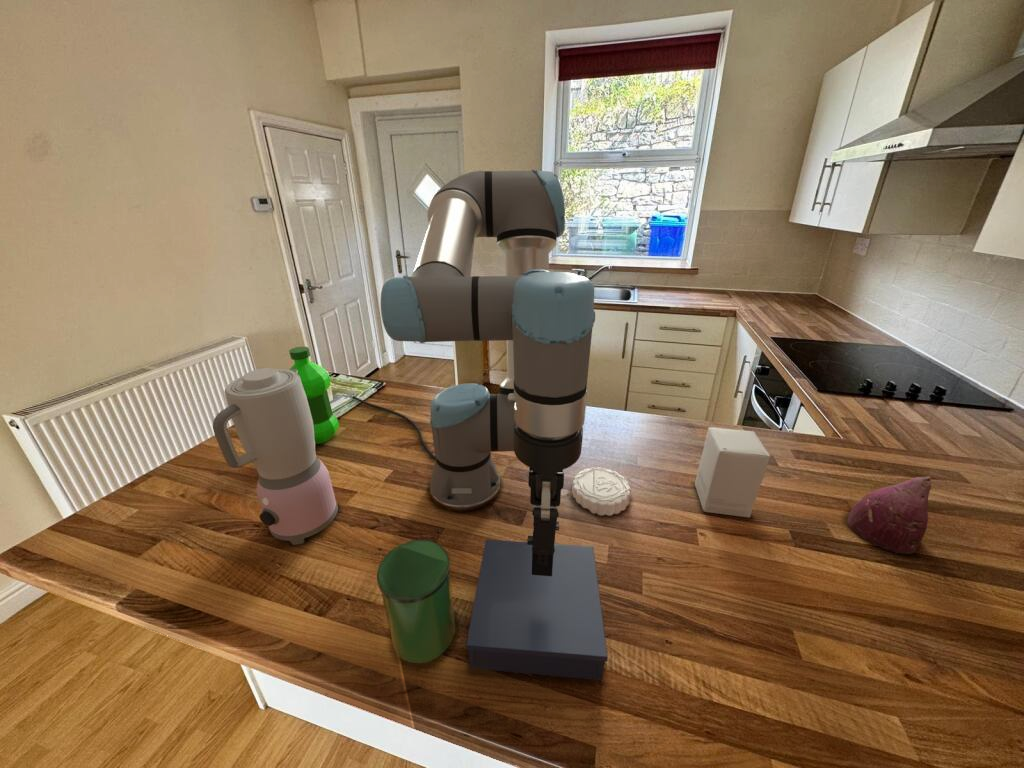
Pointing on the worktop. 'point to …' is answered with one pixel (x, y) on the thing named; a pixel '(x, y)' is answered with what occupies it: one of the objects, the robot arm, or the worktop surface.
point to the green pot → (418, 599)
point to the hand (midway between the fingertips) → (541, 570)
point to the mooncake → (601, 491)
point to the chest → (536, 664)
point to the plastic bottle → (315, 393)
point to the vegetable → (893, 515)
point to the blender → (278, 451)
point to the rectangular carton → (731, 471)
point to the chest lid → (538, 604)
